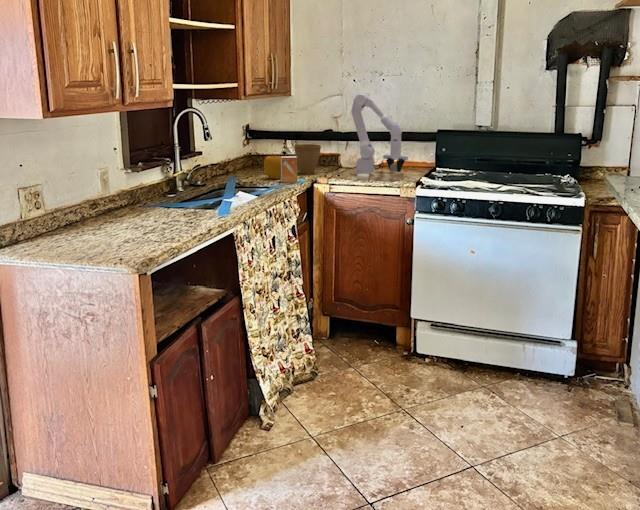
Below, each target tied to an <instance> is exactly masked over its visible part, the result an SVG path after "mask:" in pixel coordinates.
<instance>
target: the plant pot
mask: <svg viewBox="0 0 640 510" xmlns="http://www.w3.org/2000/svg"><path fill="white" fill-rule="evenodd" d="M321 147H322V145H320V144H312V143H311V144H309V143H308V144H307V143H305V144H294V155H295V156H296V157H297V167H298V169H299V172H300V174H301V175H314V174H315V172H316V169H317V166H318V163H319V158H320V154H321V149H322V148H321Z"/></svg>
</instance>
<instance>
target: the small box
mask: <svg viewBox="0 0 640 510" xmlns="http://www.w3.org/2000/svg"><path fill="white" fill-rule="evenodd" d="M280 181H281V183H288V184H289V183H298V163H297V157H296V155H288V156H287V155H285V156H282V155H281V178H280Z"/></svg>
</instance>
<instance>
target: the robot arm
mask: <svg viewBox="0 0 640 510" xmlns="http://www.w3.org/2000/svg"><path fill="white" fill-rule="evenodd" d="M352 102H353V103H352V106H351V107H352V108H351V112H350V113H351V116H352V120H353V122H354V125H355V130H356V133H357V137H358V139H359V149H360V151H359V154H360V156H361V157H359V158H357V160H356V162H355V175H357V174H360V173H366V174H369V173H372V172H375V170H374V169H375V167H374V165H375V163H374V162H375V159H374V155H375V148H374V146H373V145H372V143H371V141H370V139H369V136H368V132H367V129H366V125H365V121H364V118H363V114H362V111H363V110H364V109H365V107H367V108H370V109H371V110H372V111H373V112H374V113H375V114H376V115H377V116H378V117H379V118H380V123H381V124H382V125H383V126H384V127H385V128H386V129H387V130H388V131H389V134H390V152H389V154H383V155H382V159H384V160H385V159H386V160H385V161H386V164H387V166H388V168H389V170H390V165H392V163H395V160H396V163H397V172H402V169H403V168H402V167H403V165H404V163H405V161H409V156H406V155H402V133H403V128H402V126H401V125H400V124H399V123H398V122H397V121H395V119H394V118H393V115H390V114H389V113H385V112H384V111H383V109H382V108H381V107H380V106H379V105H378V103H376V101H375V100H374V98H372V97H371V96H369V94H368V93H366V92H363V93H358V94H356V95H355V97H354V98H353V101H352Z"/></svg>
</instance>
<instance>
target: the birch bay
mask: <svg viewBox="0 0 640 510" xmlns="http://www.w3.org/2000/svg"><path fill="white" fill-rule="evenodd" d="M404 175H405V173H404V172H403V171H401V172H392V171H390V170H377V171H374V172H372V173H369V180H368V181H380V182H387V183H388V182H390V183H394V182H397V181H402V180H404Z"/></svg>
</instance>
